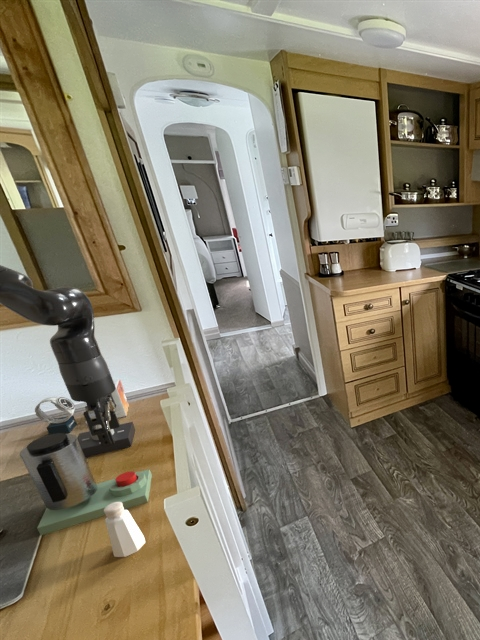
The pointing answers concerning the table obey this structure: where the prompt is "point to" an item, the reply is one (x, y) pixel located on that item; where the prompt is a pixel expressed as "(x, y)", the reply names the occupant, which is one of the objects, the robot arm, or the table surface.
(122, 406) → the small box
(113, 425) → the robot arm
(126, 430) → the dial panel
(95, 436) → the temp dial
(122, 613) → the table surface
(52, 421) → the watch
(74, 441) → the kettle
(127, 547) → the salt shaker
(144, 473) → the kettle base
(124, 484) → the kettle switch
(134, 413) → the table surface
